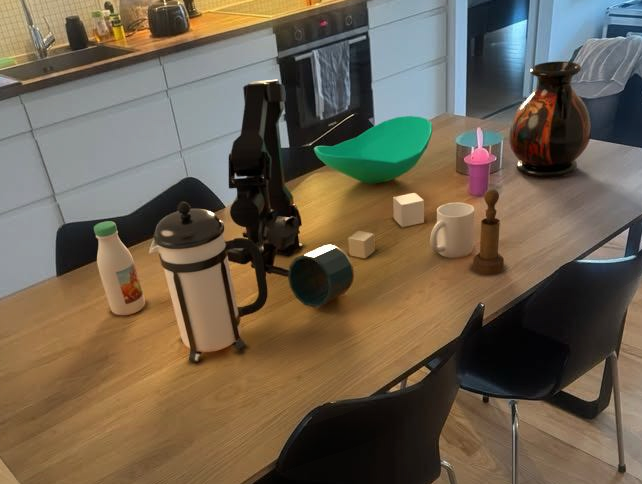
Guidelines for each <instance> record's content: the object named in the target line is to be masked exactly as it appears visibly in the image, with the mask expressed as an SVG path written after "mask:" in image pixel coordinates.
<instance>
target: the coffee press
mask: <svg viewBox="0 0 642 484" xmlns="http://www.w3.org/2000/svg"><path fill="white" fill-rule="evenodd" d="M176 208H177V211H175V212H172V213H170V214H167V215H166V216H165V217H163V218H162V219H160V221H159V222H158V223H157V224H156V227H155V231H154V233H153V240H152V242H151V245H150V247H149V251H148V254H150V255H151V254H155V253H158V256H159V261H160V265H161V266H162V268H163V270H164V271H163V272H164V275H165V278H166V282H167V286H168V287H167V288H168V290H169V294H170V295H169V296H170V299H171V302H172V303H171V304H172V307H173V311H174V314H175V319H176V322H177V326H178V331H179V334H180V337H181V340H182V343H183V345H184V346H185V347H187V348H188V349H189V355H188V362H190V363H193V364H198V363H199V361H200V359H201V355H202V353H212V352H217V351H221V350H224V349H226V348H228V347H230V346H232V347H233V348H234V349H235V350H236V351H238V352H240V353H242V352H243V351H244V350H245V349H246V348H247V344H246V343H245V342H244V340H243V339H242V338H241V333H242V325H241V318H244V317H246V316H249V315H252V314H254V313H256V312H259V311H260V310H261V309H262V308H263V307H264V306H265V305H266V303H267V301H268V297H269V294H268V293H269V292H268V291H269V290H268V282H267V274H266V275H265V269H264V263H263V259H262V255H261V252H260V250H259V248H258V247H257V245H256V244H255V243H254V242H252V241H251V240H249V239H248V238H245V237H236V238H235V237H234V239H231V240H226V239H225V235H224V232H225V223H224V222H223V220H221V219H220V218H219V217H218V215H217V214H216V213H215V212H213V211H211V210H207V209H203V208H191V205H190V204H189V203H188V202H186V201H181V202H179V203H178V205H177V207H176ZM234 248H236V249H238V248H244V249H247V250H248V251H250V252H251V254H252V256H253V261H254V267H255V269H254V273H255V279H256V284H257V291H258V294H257V296H256V297H257V298H256V299H255V301H253V302H252V303H250V304H247V305H244V306H238V304H237V298H236V293H235V288H234V283H233V278H232V273H231V272H232V271H231V267H230V261H228V256H227V255H228V250H230V249H234Z"/></svg>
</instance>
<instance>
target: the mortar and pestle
mask: <svg viewBox="0 0 642 484" xmlns="http://www.w3.org/2000/svg"><path fill="white" fill-rule="evenodd" d="M483 199H484V201H485V203H486V205H487V209H485V217H486V218H482V219H481V221H480V240H479V252H478V253H477V254H476V255H474V256H473V259H472V269H473V271H475V272H476V273H478V274H482V275H483V274H484V275H496V274H499V273H501V272H502V271H503V270H504V265H505V263H504V262H505V259H504V256H502V255H501V254H500V253H499V241H500V240H499V239H500V227H501V226H500V225H501V220H500V219H499V218H497V217H496V215H497V212H498V210H497V209H496V207H495V206H496V204H497V203H498V201H499V199H500V194H499V192H498V190H496V189H495V188H490V189H487V190H486V191H485V192H484V195H483Z"/></svg>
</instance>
